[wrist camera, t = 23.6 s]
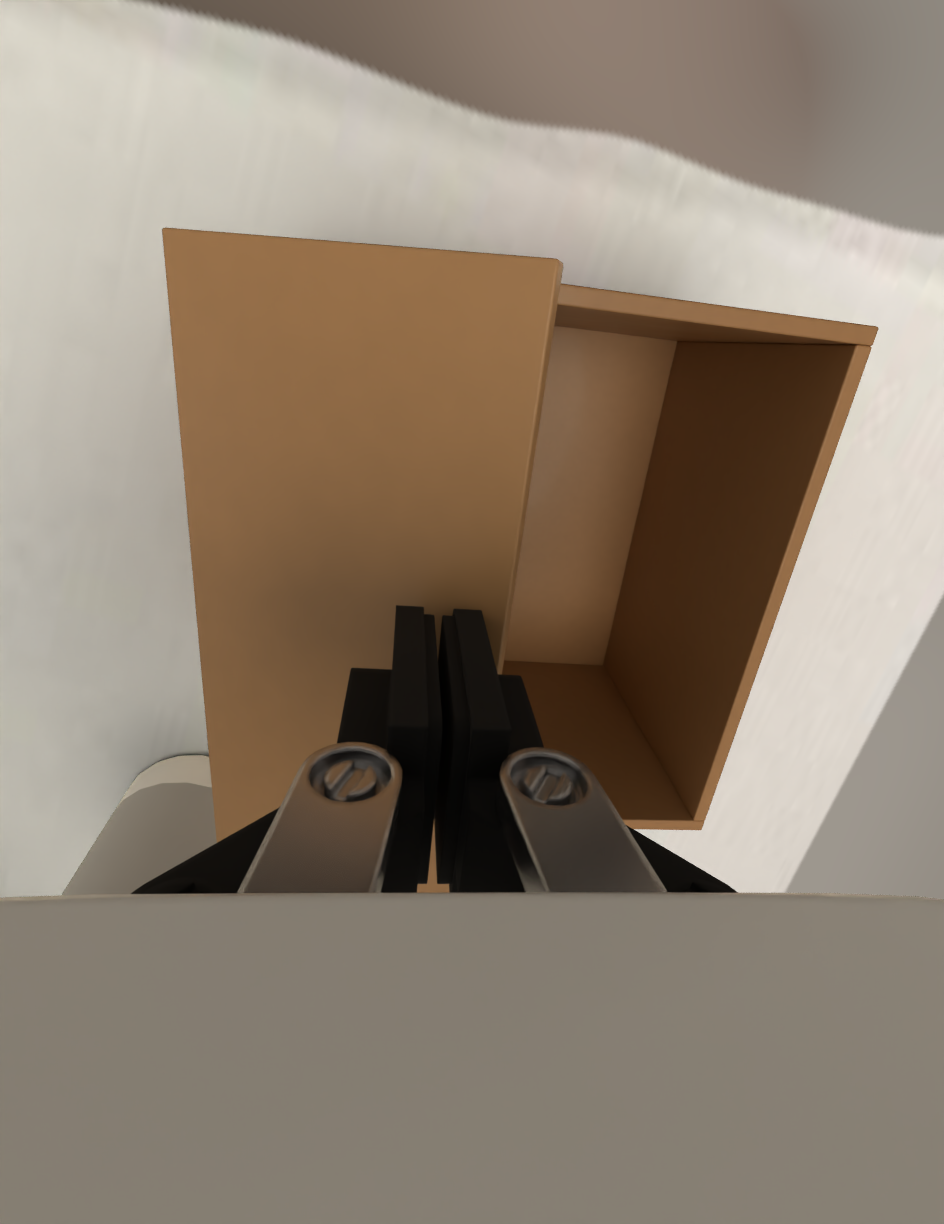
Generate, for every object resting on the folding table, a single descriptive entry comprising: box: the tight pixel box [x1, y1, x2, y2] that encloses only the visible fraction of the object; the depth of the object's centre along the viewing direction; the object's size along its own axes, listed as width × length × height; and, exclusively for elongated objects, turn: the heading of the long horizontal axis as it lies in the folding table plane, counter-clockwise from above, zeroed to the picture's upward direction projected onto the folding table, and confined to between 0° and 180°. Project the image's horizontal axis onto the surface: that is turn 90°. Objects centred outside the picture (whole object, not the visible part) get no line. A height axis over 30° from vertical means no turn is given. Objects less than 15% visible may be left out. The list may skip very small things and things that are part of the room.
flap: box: [162, 228, 563, 893], centre depth 13 cm, size 7×15×1 cm, turn 173°
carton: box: [502, 284, 878, 830], centre depth 20 cm, size 15×15×10 cm
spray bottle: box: [62, 755, 217, 895], centre depth 22 cm, size 7×7×18 cm
